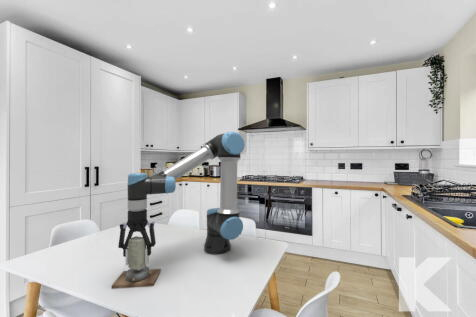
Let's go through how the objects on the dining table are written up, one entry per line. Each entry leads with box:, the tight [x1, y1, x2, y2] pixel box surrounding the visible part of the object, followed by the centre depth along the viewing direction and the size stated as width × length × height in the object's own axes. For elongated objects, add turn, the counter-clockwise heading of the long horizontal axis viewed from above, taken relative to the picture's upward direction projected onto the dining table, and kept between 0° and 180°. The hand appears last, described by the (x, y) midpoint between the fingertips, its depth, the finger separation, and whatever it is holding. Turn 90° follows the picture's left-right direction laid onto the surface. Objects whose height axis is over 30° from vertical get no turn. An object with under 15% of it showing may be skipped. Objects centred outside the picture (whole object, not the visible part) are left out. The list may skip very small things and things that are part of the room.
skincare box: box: [127, 236, 147, 270], centre depth 96 cm, size 6×4×12 cm
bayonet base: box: [111, 265, 162, 290], centre depth 96 cm, size 16×12×4 cm
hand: (137, 263), depth 96 cm, fingers closed on skincare box, 7 cm apart
